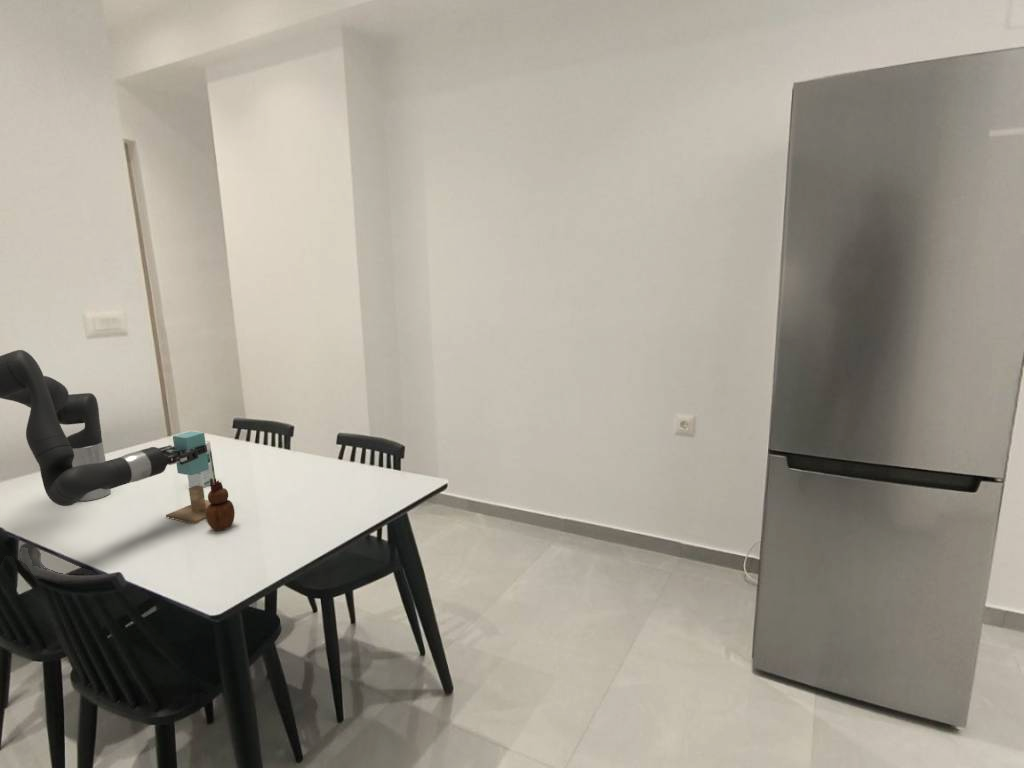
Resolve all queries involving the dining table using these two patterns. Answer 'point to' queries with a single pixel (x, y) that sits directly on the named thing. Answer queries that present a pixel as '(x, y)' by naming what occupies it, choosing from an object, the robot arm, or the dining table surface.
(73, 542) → the dining table surface
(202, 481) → the syrup box
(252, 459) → the dining table surface
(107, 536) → the dining table surface
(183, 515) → the brown base plate
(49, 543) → the dining table surface
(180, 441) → the tall teal pillar
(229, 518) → the wooden figurine
